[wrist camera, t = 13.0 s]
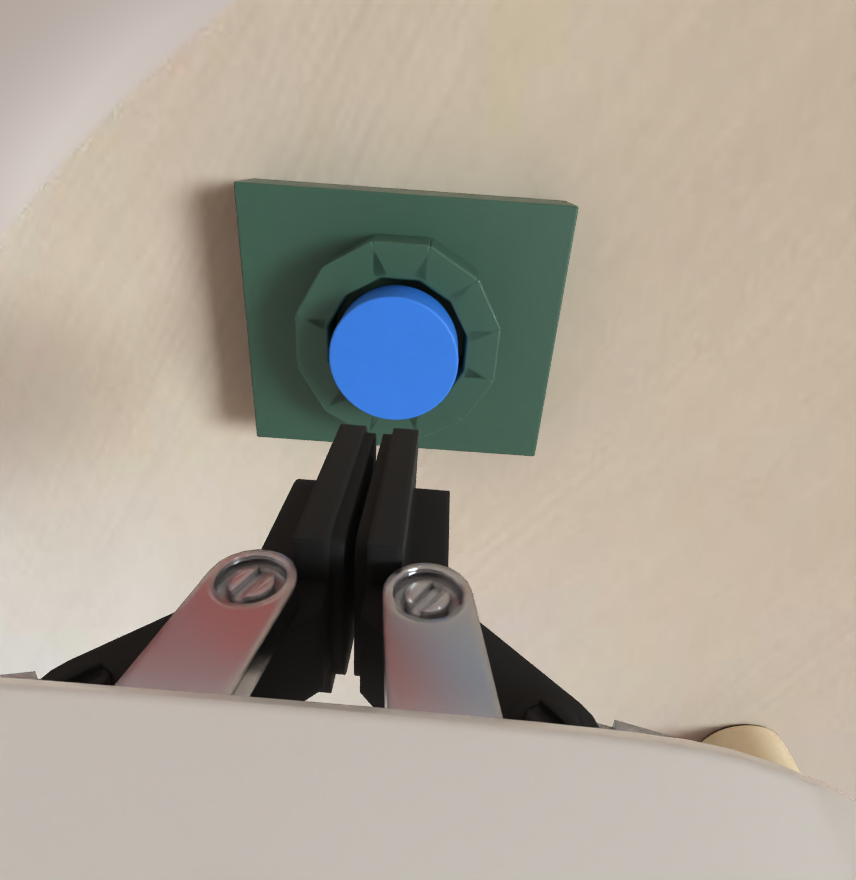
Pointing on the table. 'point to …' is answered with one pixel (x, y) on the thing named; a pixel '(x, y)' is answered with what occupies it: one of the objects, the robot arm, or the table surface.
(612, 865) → the robot arm
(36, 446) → the table surface
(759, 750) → the candle
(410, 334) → the button
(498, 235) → the switch box
